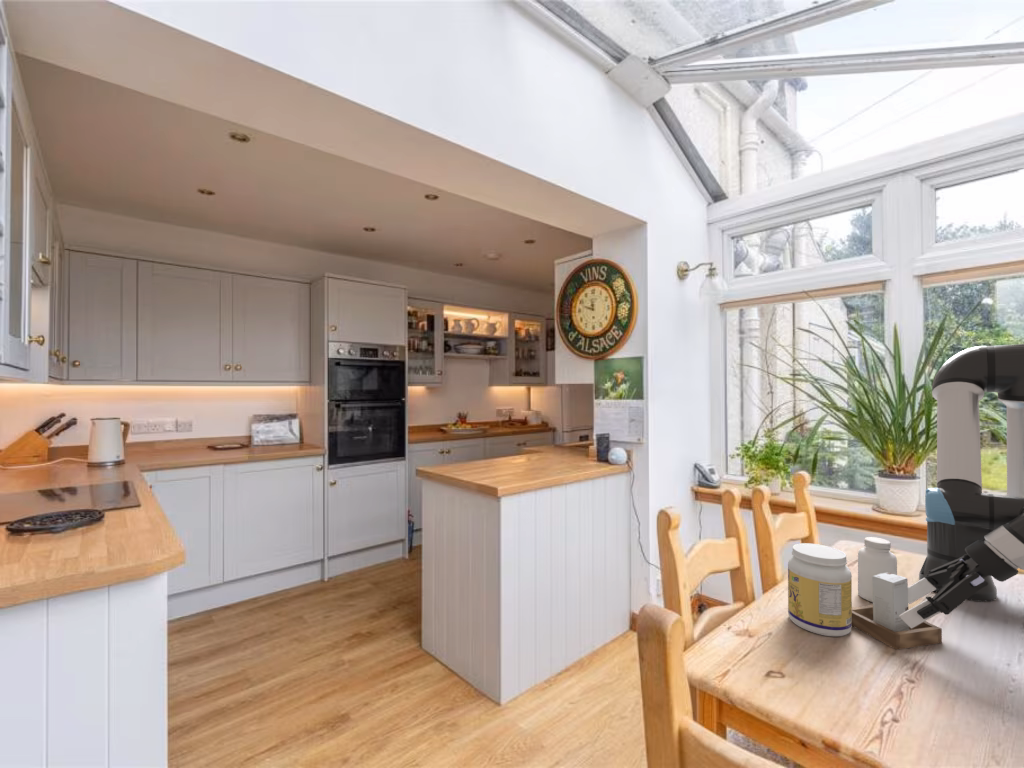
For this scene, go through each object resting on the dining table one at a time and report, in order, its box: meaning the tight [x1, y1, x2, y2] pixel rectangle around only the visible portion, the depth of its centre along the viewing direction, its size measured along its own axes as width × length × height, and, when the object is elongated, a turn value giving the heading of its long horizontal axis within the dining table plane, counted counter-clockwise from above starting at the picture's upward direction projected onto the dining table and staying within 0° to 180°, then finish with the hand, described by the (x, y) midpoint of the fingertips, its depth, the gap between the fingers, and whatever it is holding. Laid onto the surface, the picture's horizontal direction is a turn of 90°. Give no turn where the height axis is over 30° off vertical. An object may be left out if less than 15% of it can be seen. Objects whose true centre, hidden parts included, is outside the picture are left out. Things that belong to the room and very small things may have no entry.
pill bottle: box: [857, 536, 898, 603], centre depth 121 cm, size 8×8×15 cm
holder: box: [852, 604, 943, 651], centre depth 104 cm, size 12×12×3 cm
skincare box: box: [872, 572, 909, 632], centre depth 104 cm, size 6×4×12 cm
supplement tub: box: [787, 542, 853, 637], centre depth 108 cm, size 12×12×17 cm
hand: (904, 609), depth 103 cm, fingers open, 13 cm apart
